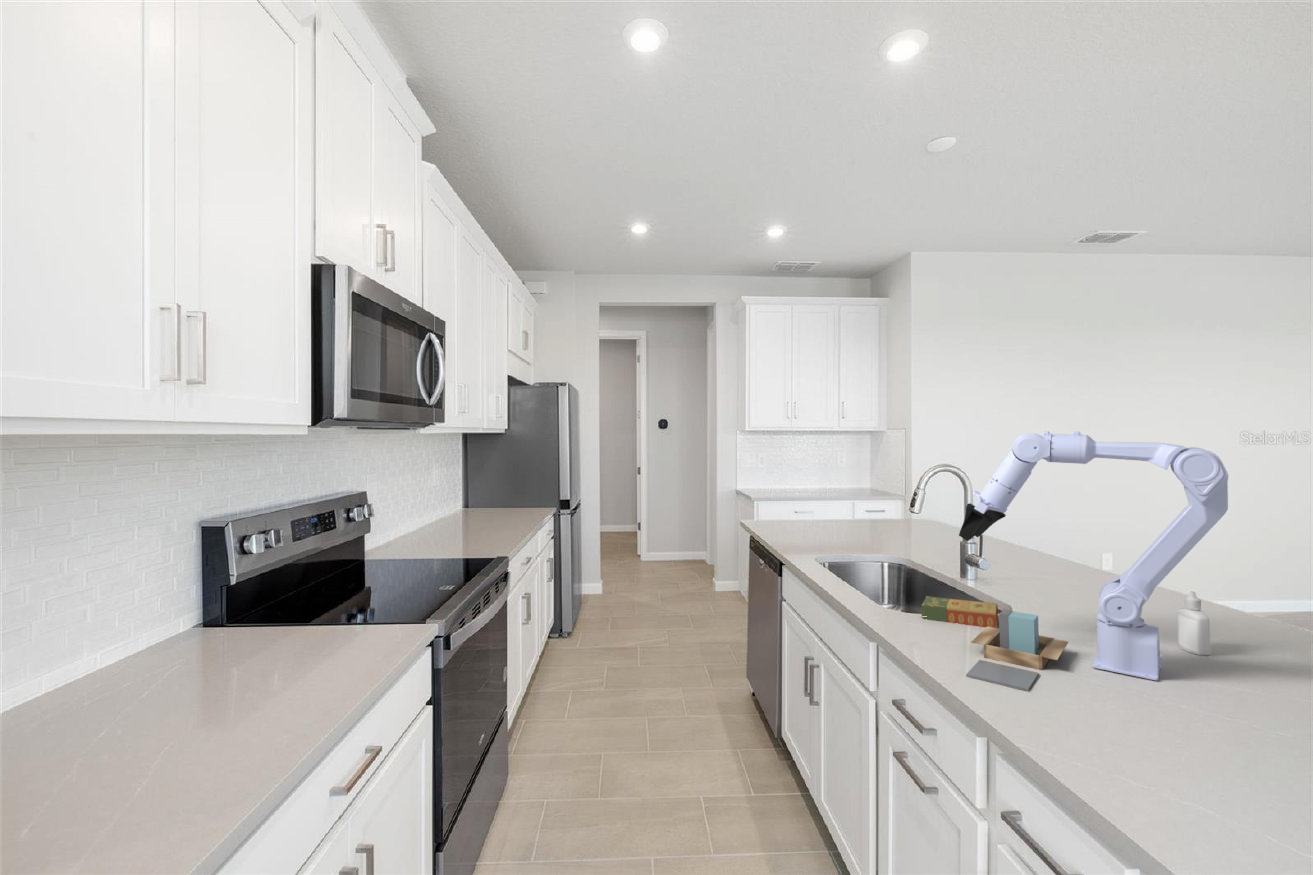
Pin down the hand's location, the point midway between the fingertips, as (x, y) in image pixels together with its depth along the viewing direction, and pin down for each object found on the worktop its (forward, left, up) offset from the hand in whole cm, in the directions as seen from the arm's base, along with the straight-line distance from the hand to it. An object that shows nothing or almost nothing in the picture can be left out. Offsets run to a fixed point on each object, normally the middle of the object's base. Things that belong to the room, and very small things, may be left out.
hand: (968, 536), depth 127 cm
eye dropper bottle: (-36, -21, -23) cm, 47 cm away
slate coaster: (-10, +16, -23) cm, 29 cm away
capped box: (-10, +2, -23) cm, 25 cm away
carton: (+6, -14, -24) cm, 28 cm away
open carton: (-10, +2, -23) cm, 25 cm away
